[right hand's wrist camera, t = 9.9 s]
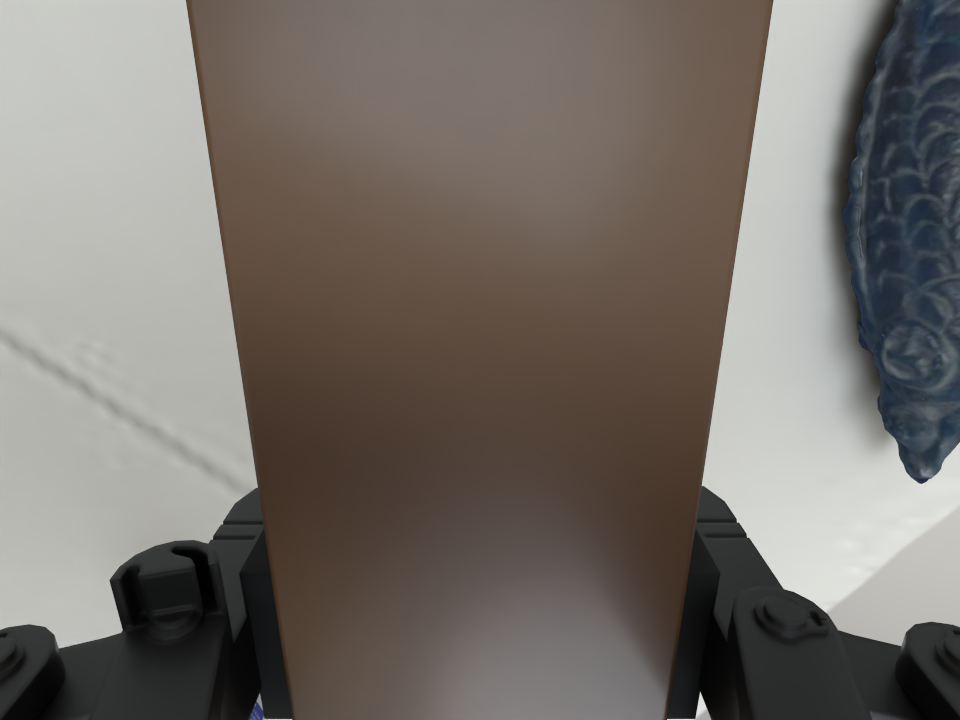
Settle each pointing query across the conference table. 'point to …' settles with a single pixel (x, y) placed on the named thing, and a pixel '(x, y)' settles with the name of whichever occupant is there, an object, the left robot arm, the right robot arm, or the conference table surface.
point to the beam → (479, 333)
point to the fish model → (911, 231)
